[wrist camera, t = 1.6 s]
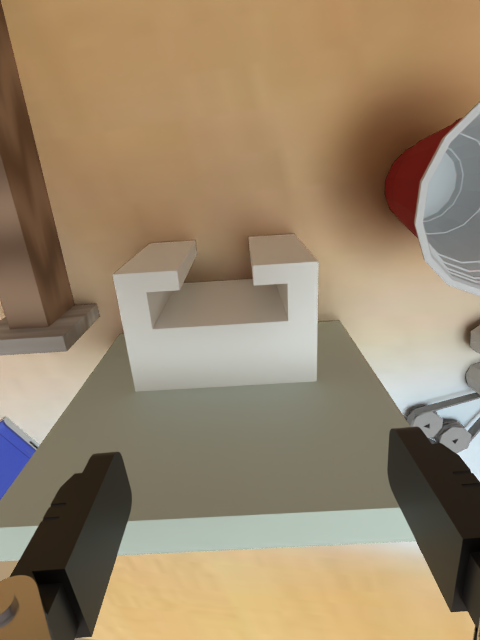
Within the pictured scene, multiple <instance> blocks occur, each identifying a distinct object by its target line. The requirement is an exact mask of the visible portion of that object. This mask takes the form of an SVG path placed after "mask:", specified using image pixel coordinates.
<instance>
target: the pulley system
mask: <svg viewBox="0 0 480 640" xmlns="http://www.w3.org/2000/svg"><path fill="white" fill-rule="evenodd" d="M470 347H471V348H472V349H473V350H475V351H476V352H478V353H480V325H479V326H478V327H476V328H475V329H473V330H472V331H471V338H470ZM466 380H467V384H468V386H469V387H470V388H472V389H473V390H474V391H475V392H476V393H472V394H468V395H465V396H461V397H457V398H454V399H450V400H446V401H442V402H439V403H435V404H431V405H428V406H423V407H420V408H416V409H414V410H412V411H410V413H409V415H408V417H407V422H408V424H409V425H410V427H415V426H418V427H420V428H421V430H422V431H423V432H424V434H425V435H426V436H427V438H428V439H429V438H433V437H435V440H436V442H435V441H433V440H431V439H429V441H430V442H431V443H432V444H435V443H442V444H443V445H445V446H446V447H448V448H449V449H450V450H452V451H453V452H455V453H458V452H460V451H462V450H464V449H467V448H468V446H469V443H470V442H471V441H472V439H473V438H474V437H475V436H476V435H477V434H478V432H479V431H480V418H479V419H478V420H477V421H476V422H475V423H474V424H473V426H472V427H471V428H470V429H469V430H468V431H467V430H466V429H464V427H463V426H462V425H461V424H460V423H459V422H452V421H446V422H445V423H443V419H442V418H441V417H440V416H439V415H437V412H436V410H440V409H443V408H447V407H451V406H454V405H458V404H461V403H465V402H468V401H472V400H475V399H479V398H480V362H479V363H476V364H473V365H471V366H470V368H469V370H468V371H467V373H466Z"/></svg>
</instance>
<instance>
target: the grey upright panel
mask: <svg viewBox="0 0 480 640" xmlns="http://www.w3.org/2000/svg"><path fill="white" fill-rule="evenodd" d="M249 253H250V261H251V268H252V276H253V279H241V280H225V281H209V282H193V283H184V280H185V278H186V276H187V274H188V272H189V270H190V268H191V266H192V264H193V262H194V260H195V258H196V256H197V250H196V240H192V241H176V242H161V243H150V244H148V245H147V246H146V247H145V248H144V249H142V250H141V251H140V252H139V253H138V254H137V255H135V256H134V257H133V258H132V259H131V260H129V261H128V262H127V263H126V264H125V265H123V266H122V267H121V268H120V269H119V270H117V271H116V272H115V273H114V274H113V280H114V285H115V290H116V295H117V300H118V305H119V310H120V315H121V321H122V326H123V331H124V334H119V336H118V337H117V339H116V340H115V341H114V343H113V344H112V346H111V347H110V348H109V350H108V351H107V353H106V354H105V355H104V357H103V358H102V359H101V361H100V362H99V364H98V365H97V366H96V368H95V369H94V371H93V372H92V373H91V375H90V376H89V378H88V379H87V380H86V382H85V383H84V385H83V386H82V387H81V389H80V390H79V391H78V393H77V394H76V396H75V397H74V398H73V400H72V401H71V403H70V404H69V405H68V407H67V408H66V410H65V411H64V412H63V414H62V415H61V416H60V418H59V419H58V421H57V422H56V423H55V425H54V426H53V428H52V429H51V430H50V432H49V433H48V435H47V436H46V437H45V439H44V440H43V442H42V443H41V444H40V446H39V447H38V448H37V450H36V451H35V453H34V454H33V455H32V457H31V458H30V460H29V461H28V462H27V464H26V465H25V467H24V468H23V469H22V471H21V472H20V473H19V475H18V476H17V478H16V479H15V480H14V482H13V483H12V485H11V486H10V487H9V489H8V490H7V492H6V493H5V494H4V496H3V497H2V499H1V500H0V561H13V560H14V561H15V560H20V558H21V556H22V554H23V553H24V551H25V549H26V547H27V545H28V544H29V542H30V540H31V538H32V536H33V535H34V533H35V531H36V529H37V528H38V526H39V524H40V522H41V521H43V517H44V515H45V513H46V512H47V510H48V508H49V507H51V503H52V501H53V499H54V497H55V495H56V494H57V492H58V490H59V488H60V487H61V486H62V485H63V484H64V483H65V482H66V481H67V480H68V479H69V478H70V477H71V476H72V475H73V474H75V473H82V472H83V470H84V468H85V466H86V464H87V463H88V461H89V459H90V457H91V456H92V455H93V454H96V453H107V452H120V453H121V455H122V458H123V461H124V465H125V469H126V473H127V476H128V480H129V484H130V487H131V492H132V506H131V512H130V515H129V519H128V522H127V525H126V528H125V531H124V535H123V538H122V541H121V544H120V548H119V551H118V554H117V556H118V555H139V554H160V553H180V552H201V551H222V550H243V549H263V548H284V547H305V546H325V545H346V544H367V543H388V542H408V541H416V540H415V538H414V536H413V533H412V531H411V529H410V527H409V525H408V523H407V521H406V519H405V517H404V515H403V513H402V511H401V509H400V507H399V505H398V503H397V501H396V499H395V497H394V495H393V492H392V490H391V487H390V484H389V480H388V473H387V465H388V447H389V433H390V430H391V429H392V428H403V427H410V425H409V424H408V422H407V421H406V419H405V418H404V416H403V415H402V413H401V412H400V410H399V409H398V407H397V406H396V404H395V403H394V401H393V400H392V398H391V397H390V395H389V394H388V392H387V391H386V389H385V388H384V386H383V385H382V383H381V382H380V380H379V379H378V377H377V376H376V374H375V373H374V371H373V370H372V368H371V367H370V365H369V364H368V362H367V361H366V359H365V358H364V356H363V355H362V353H361V352H360V350H359V349H358V347H357V346H356V344H355V343H354V341H353V340H352V338H351V337H350V335H349V334H348V332H347V331H346V329H345V328H344V326H343V325H342V323H341V322H340V321H325V322H318V260H317V259H316V258H315V257H314V256H313V255H312V254H311V252H310V251H309V250H308V249H307V248H306V247H305V245H304V244H303V243H302V242H301V241H300V240H299V238H298V237H297V236H296V235H295V234H284V235H268V236H253V237H249Z"/></svg>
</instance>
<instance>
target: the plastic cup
mask: <svg viewBox="0 0 480 640" xmlns="http://www.w3.org/2000/svg"><path fill="white" fill-rule="evenodd" d="M385 196H386V199H387V202H388V205H389V208H390V210H391V211H392V212H393V213H394V214H395V215H396V216H397V217H398V218H399V219H400V220H401V222H402V223H403V224H404V225H405V226H406V227H407V228H408V229H409V230H410V231H411V232H412V233H413V234H414V235H415V236H416V237H417V238H418V239H419V243H420V247H421V250H422V254H423V257H424V260H425V261H426V262H427V264H428V265H429V266H430V267H431V268H432V269H433V270H434V271H435V272H436V273H437V274H438V275H439V276H440V277H441V278H442V280H443V281H444V282H445V283H446V284H447V285H449V286H452V287H455V288H458V289H461V290H463V291H466V292H469V293H472V294H475V295H478V296H480V101H479V102H478V103H477V104H476V105H475V106H474V107H473V108H472V109H471V110H470V111H469V112H468V113H467V114H466V115H465V116H464V117H463V118H461V119H458V120H456V121H455V122H454V123H453V124H452V125H450V126H448V127H446V128H444V129H442V130H440V131H439V132H437V133H435V134H433V135H431V136H429V137H427V138H425V139H423V140H421V141H419V142H418V143H417V144H416V145H415V146H413V147H411V148H409V149H407V150H406V151H405V152H404V153H403V154H402V155H401V156H400V157H399V158H398V159H397V160H396V161H395V162H394V163H393V165H392V167H391V169H390V171H389V173H388V175H387V178H386V185H385Z"/></svg>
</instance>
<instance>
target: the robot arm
mask: <svg viewBox="0 0 480 640" xmlns="http://www.w3.org/2000/svg"><path fill="white" fill-rule="evenodd" d="M387 473H388V480H389V484H390V487H391V490H392V492H393V495H394V497H395V499H396V501H397V503H398V505H399V507H400V509H401V511H402V513H403V515H404V517H405V519H406V521H407V523H408V525H409V527H410V529H411V531H412V533H413V536H414V538H415V540H416V542H417V544H418V546H419V548H420V550H421V552H422V554H423V556H424V558H425V560H426V562H427V564H428V566H429V568H430V570H431V572H432V574H433V576H434V579H435V581H436V583H437V585H438V587H439V589H440V591H441V593H442V595H443V597H444V599H445V601H446V603H447V605H448V607H449V609H450V611H451V612H460V611H468V612H469V614H470V616H471V618H472V620H473V622H474V624H475V629H474V634H473V640H480V482H479V480H478V479H477V478H476V477H475V475H474V474H473V473H471V471H470V469H469V468H468V466H467V465H466V464H465V463H464V461H463V460H462V459H461V458H460V456H459V455H458V454H456V453H455V452H453V451H452V450H450V449H449V448H448V447H446V446H445V445H443V444H442V443H435V444H432V443H431V442H430V441H429V439H428V438H427V436H426V435H425V434H424V432H423V431H422V430H421V428H420V427H418V426H415V427H403V428H392V429H391V430H390V433H389V447H388V465H387ZM131 506H132V492H131V487H130V484H129V480H128V476H127V473H126V469H125V465H124V461H123V458H122V455H121V453H120V452H107V453H96V454H93V455H92V456H91V457H90V459H89V461H88V463H87V464H86V466H85V468H84V470H83V472H82V473H75V474H73V475H72V476H71V477H70V478H69V479H68V480H67V481H66V482H65V483H64V484H63V485H62V486H61V487H60V488H59V490H58V492H57V494H56V495H55V497H54V499H53V501H52V503H51V507H49V508H48V510H47V512H46V513H45V515H44V517H43V521H41V522H40V524H39V526H38V528H37V529H36V531H35V533H34V535H33V536H32V538H31V540H30V542H29V544H28V545H27V547H26V549H25V551H24V553H23V554H22V556H21V558H20V560H19V562H18V563H17V565H16V567H15V569H14V570H13V572H12V574H11V576H10V577H9V578H7V579H4V580H2V581H0V640H74V639H75V638H81V637H92V634H93V631H94V628H95V624H96V621H97V618H98V615H99V612H100V608H101V605H102V602H103V599H104V596H105V592H106V589H107V586H108V583H109V580H110V576H111V573H112V570H113V567H114V564H115V560H116V557H117V554H118V551H119V548H120V544H121V541H122V538H123V535H124V531H125V528H126V525H127V522H128V519H129V515H130V512H131Z"/></svg>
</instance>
